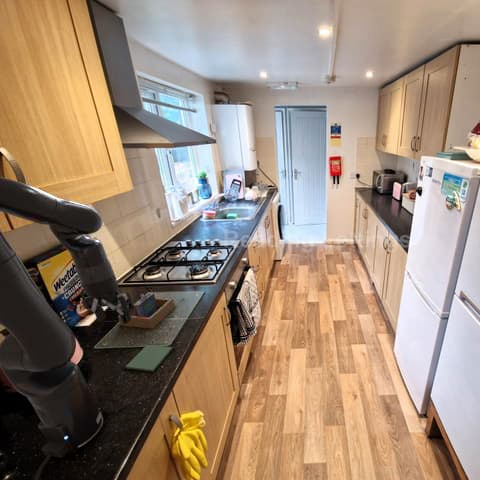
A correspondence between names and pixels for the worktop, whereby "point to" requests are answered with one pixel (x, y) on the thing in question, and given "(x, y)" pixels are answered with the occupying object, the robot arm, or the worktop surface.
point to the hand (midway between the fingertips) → (115, 320)
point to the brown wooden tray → (151, 322)
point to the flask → (146, 305)
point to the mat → (149, 358)
